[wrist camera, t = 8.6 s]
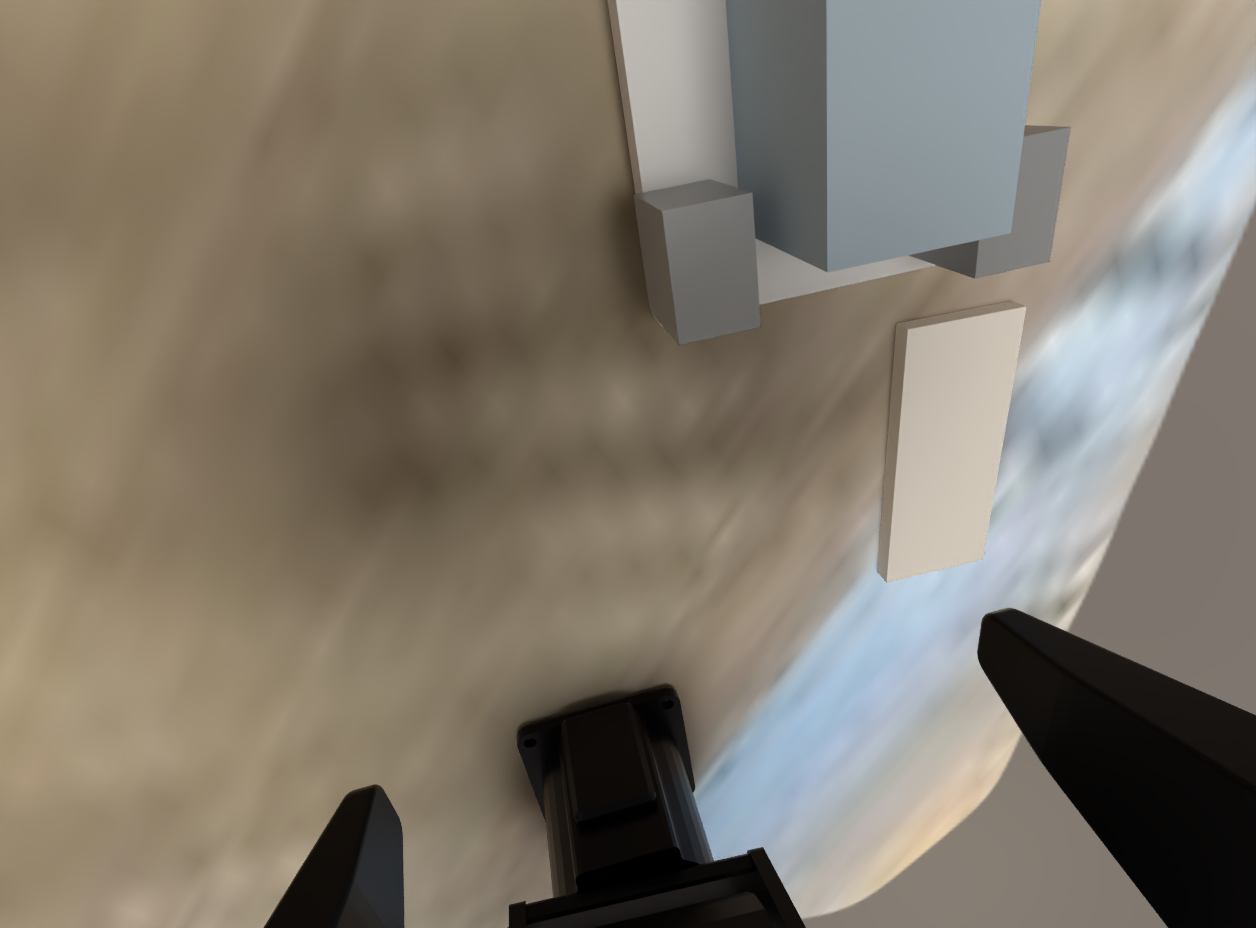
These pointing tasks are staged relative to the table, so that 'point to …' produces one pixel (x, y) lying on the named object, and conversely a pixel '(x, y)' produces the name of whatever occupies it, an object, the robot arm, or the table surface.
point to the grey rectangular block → (879, 122)
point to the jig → (723, 214)
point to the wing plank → (946, 436)
